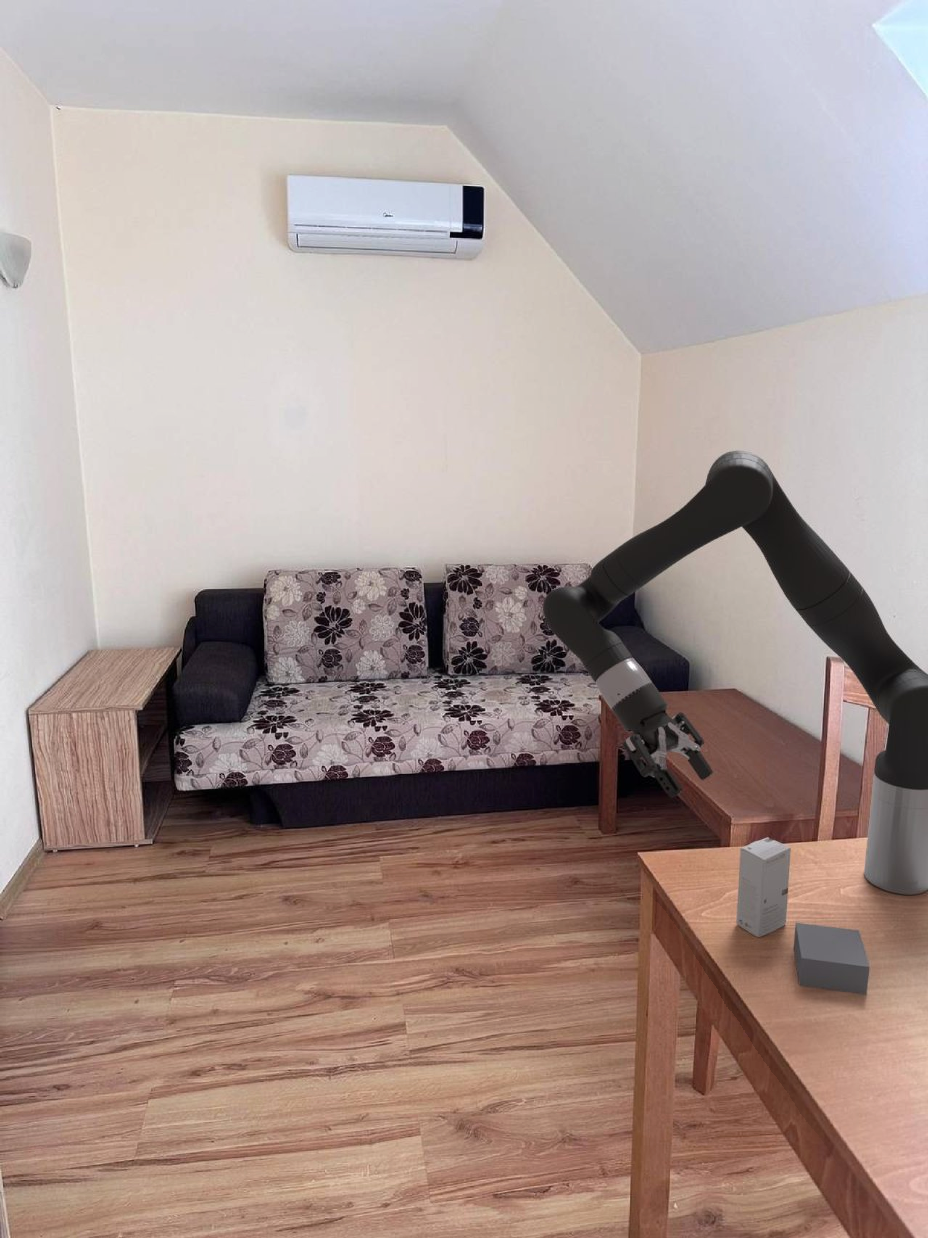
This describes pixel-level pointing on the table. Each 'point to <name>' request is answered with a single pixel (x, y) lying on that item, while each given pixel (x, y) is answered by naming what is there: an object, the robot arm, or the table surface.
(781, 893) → the skincare box
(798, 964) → the charcoal plinth
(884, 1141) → the table surface
